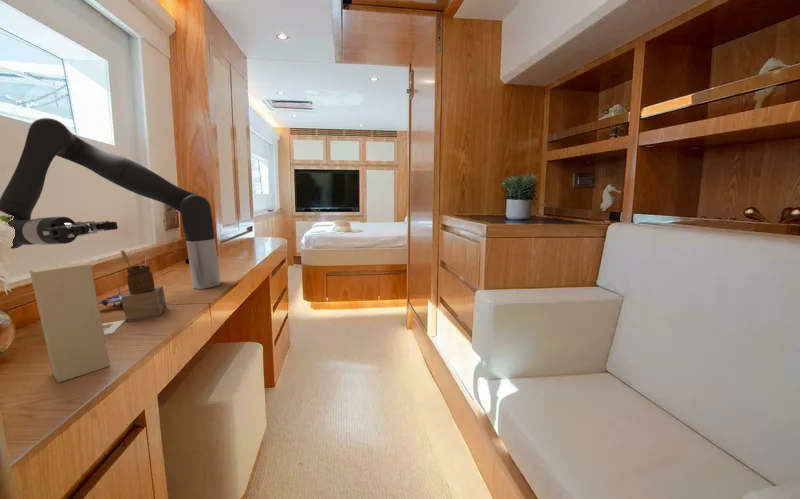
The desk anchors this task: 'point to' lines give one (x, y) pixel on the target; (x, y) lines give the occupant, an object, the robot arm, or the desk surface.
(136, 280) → the utensil holder
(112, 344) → the desk surface
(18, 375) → the desk surface
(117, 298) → the toy airplane
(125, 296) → the walnut base block
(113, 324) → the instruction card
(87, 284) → the toy refrigerator
